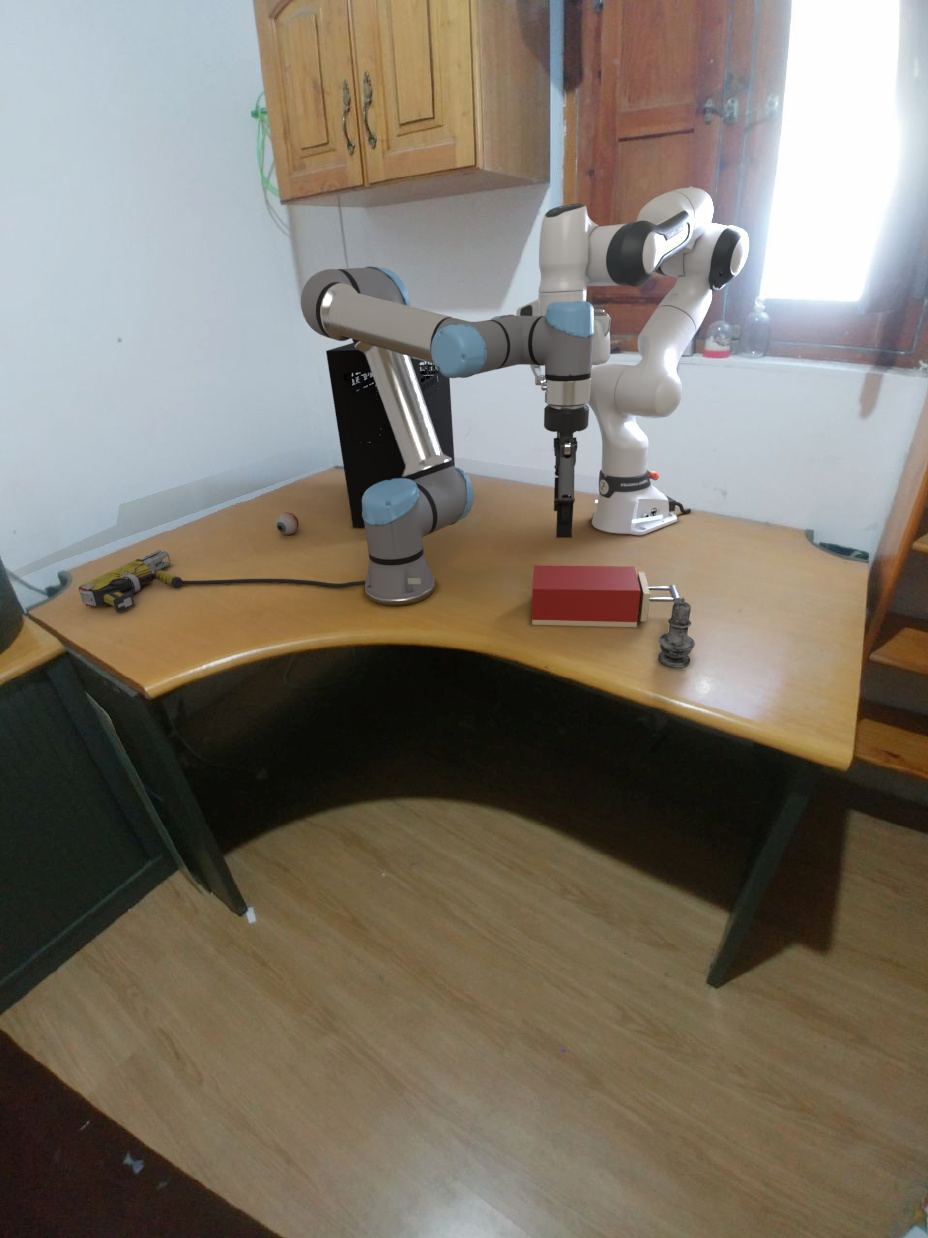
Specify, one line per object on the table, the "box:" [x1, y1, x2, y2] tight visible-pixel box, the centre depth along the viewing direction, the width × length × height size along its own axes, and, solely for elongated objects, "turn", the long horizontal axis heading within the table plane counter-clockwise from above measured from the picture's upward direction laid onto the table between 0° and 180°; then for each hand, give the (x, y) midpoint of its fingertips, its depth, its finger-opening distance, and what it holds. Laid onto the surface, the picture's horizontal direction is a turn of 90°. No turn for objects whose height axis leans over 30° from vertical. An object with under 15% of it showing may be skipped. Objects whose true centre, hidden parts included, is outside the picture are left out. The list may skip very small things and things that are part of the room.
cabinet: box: [531, 564, 640, 628], centre depth 118 cm, size 20×10×8 cm, turn 82°
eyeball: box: [275, 511, 300, 536], centre depth 163 cm, size 6×6×6 cm
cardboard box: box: [325, 342, 456, 529], centre depth 169 cm, size 38×20×45 cm, turn 167°
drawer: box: [637, 571, 682, 623], centre depth 117 cm, size 25×9×6 cm, turn 82°
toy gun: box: [78, 549, 183, 614], centre depth 138 cm, size 5×24×15 cm
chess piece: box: [657, 597, 696, 668], centre depth 101 cm, size 6×6×12 cm
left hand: (562, 523), depth 113 cm, fingers open, 13 cm apart
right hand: (559, 386), depth 120 cm, fingers open, 8 cm apart
